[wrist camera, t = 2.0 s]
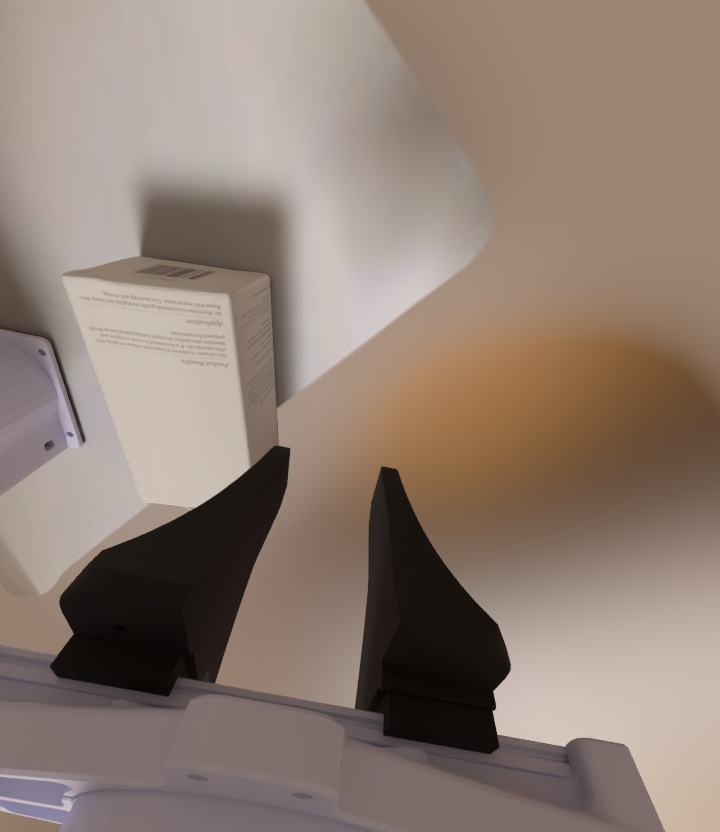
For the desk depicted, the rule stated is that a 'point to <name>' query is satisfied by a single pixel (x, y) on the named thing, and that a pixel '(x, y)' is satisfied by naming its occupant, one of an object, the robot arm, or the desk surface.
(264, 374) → the skincare box
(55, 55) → the desk surface
